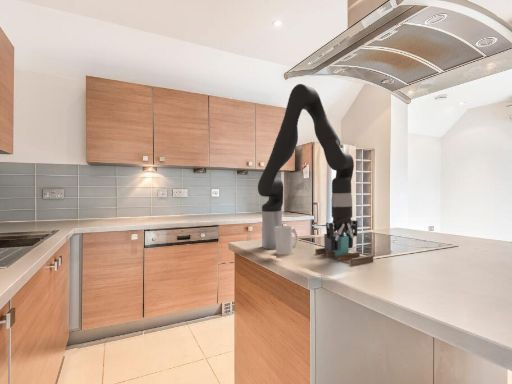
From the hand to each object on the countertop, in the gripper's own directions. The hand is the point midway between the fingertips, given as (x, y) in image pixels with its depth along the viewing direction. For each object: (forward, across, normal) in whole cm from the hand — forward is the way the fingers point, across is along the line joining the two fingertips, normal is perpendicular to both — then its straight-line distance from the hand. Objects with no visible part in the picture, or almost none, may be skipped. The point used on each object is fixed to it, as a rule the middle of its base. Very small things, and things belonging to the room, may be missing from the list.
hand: (342, 248), depth 107 cm
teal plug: (+3, 0, -1) cm, 3 cm away
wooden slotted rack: (+4, 0, 0) cm, 4 cm away
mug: (+5, +13, -18) cm, 23 cm away
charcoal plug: (+3, 0, -6) cm, 7 cm away
